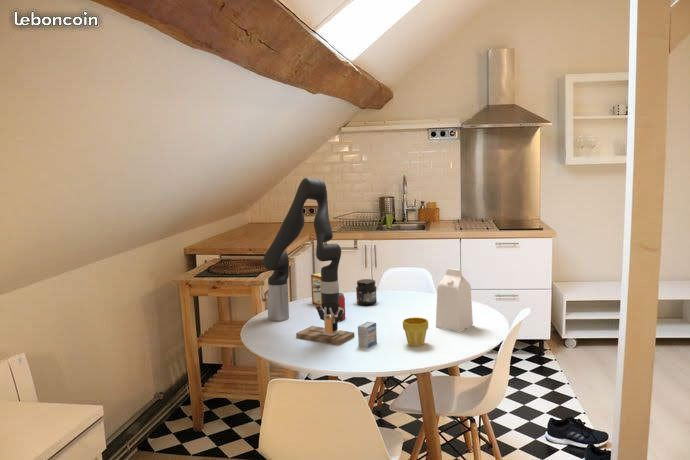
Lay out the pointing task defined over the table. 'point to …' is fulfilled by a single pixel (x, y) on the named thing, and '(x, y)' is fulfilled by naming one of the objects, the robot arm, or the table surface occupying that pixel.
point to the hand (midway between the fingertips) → (331, 330)
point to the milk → (454, 302)
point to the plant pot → (415, 330)
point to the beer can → (342, 303)
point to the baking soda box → (316, 288)
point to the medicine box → (367, 334)
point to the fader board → (317, 335)
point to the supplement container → (366, 292)
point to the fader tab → (329, 327)
